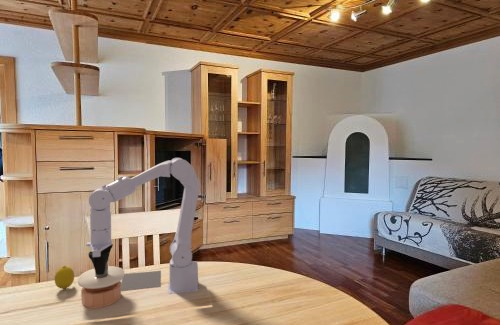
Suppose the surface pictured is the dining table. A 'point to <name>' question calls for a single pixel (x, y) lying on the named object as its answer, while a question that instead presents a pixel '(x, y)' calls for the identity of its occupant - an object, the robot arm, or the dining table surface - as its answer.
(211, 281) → the dining table surface
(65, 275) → the lemon
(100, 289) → the bowl
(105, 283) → the lid
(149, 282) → the mat
